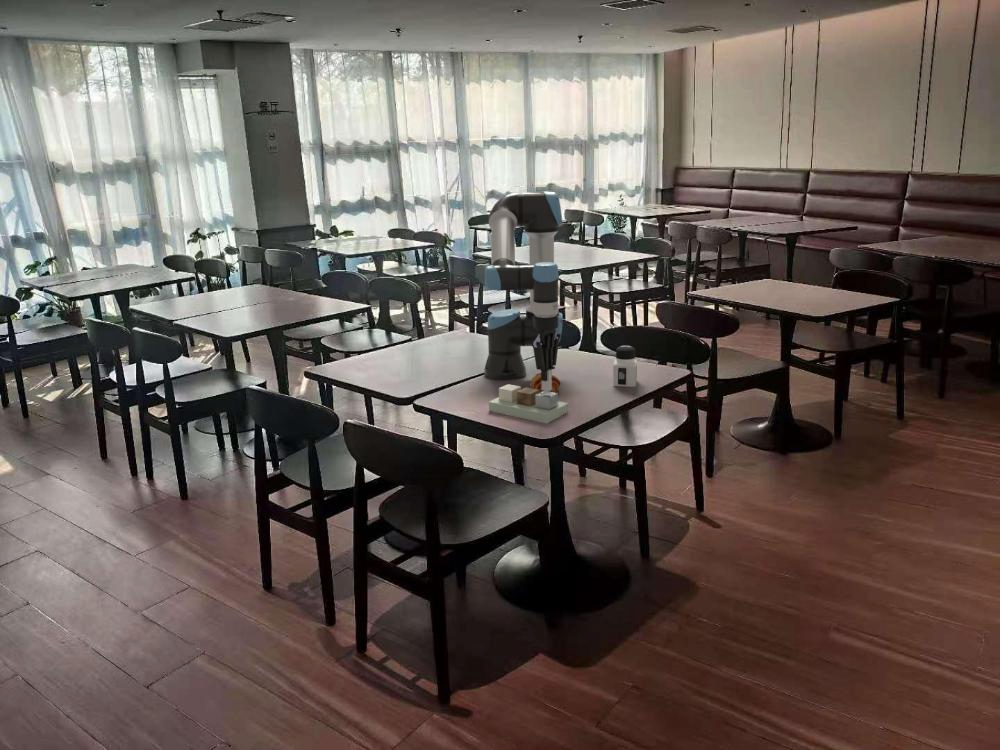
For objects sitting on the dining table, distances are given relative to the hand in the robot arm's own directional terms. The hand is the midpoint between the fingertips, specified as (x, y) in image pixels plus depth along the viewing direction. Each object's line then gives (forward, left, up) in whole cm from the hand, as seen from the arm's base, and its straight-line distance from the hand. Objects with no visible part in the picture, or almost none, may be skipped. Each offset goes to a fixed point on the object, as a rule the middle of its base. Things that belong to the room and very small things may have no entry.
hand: (546, 389), depth 249 cm
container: (+5, +42, -9) cm, 43 cm away
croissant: (-14, +21, -9) cm, 26 cm away
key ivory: (-14, 0, -7) cm, 16 cm away
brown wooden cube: (-7, 0, -7) cm, 10 cm away
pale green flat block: (-7, 0, -9) cm, 11 cm away
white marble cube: (0, 0, -6) cm, 6 cm away
